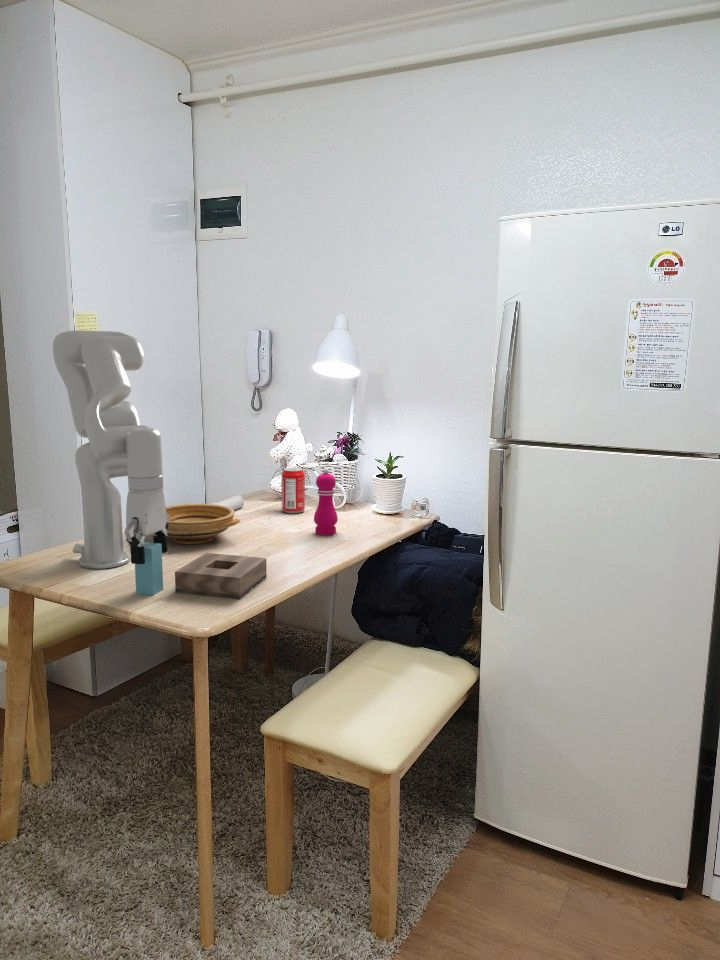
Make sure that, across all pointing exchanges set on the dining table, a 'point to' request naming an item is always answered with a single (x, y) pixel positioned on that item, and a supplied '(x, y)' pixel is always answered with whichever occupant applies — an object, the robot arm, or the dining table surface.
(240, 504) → the tube
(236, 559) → the bore block
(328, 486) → the pepper mill
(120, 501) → the robot arm
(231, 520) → the ceramic bowl
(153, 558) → the peg
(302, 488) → the soda can
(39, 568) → the dining table surface
